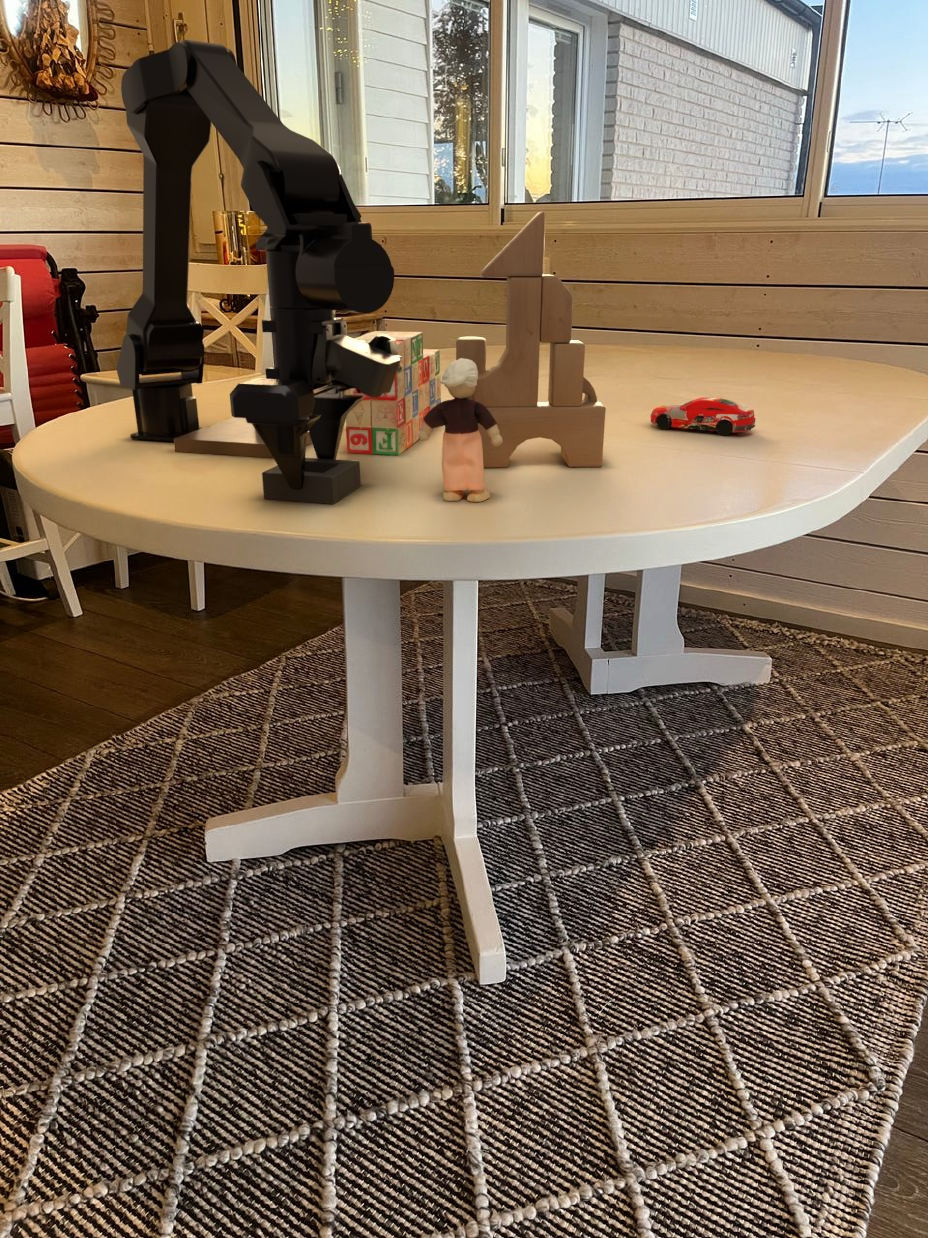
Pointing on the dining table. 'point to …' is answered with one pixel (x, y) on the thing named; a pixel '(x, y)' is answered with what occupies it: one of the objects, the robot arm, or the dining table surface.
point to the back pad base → (226, 440)
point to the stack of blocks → (396, 400)
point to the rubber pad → (315, 481)
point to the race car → (705, 416)
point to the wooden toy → (535, 362)
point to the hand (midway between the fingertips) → (312, 479)
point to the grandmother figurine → (462, 433)
